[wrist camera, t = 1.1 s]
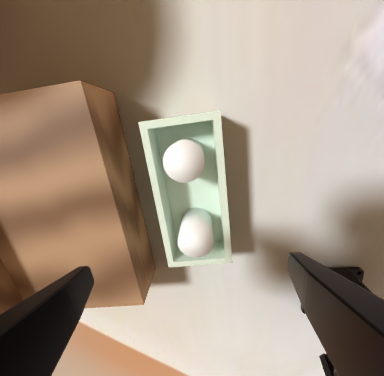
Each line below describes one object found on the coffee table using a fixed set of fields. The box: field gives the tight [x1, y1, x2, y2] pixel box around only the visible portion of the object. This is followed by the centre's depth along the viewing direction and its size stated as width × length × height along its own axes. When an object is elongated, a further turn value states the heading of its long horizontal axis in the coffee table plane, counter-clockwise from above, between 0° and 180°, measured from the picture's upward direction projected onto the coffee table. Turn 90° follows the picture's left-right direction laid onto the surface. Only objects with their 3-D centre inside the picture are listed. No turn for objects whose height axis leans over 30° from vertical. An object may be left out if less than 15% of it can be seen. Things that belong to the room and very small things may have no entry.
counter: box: [0, 80, 155, 314], centre depth 17 cm, size 20×14×8 cm
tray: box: [138, 110, 232, 267], centre depth 18 cm, size 14×6×5 cm, turn 8°
